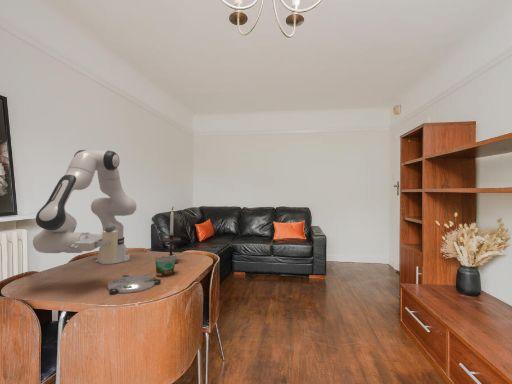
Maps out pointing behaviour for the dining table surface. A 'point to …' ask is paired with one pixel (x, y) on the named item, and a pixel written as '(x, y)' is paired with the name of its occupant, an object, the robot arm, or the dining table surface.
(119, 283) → the levelling base
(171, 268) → the food container
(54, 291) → the dining table surface
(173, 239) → the candlestick
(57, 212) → the robot arm
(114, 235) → the cream bottle
